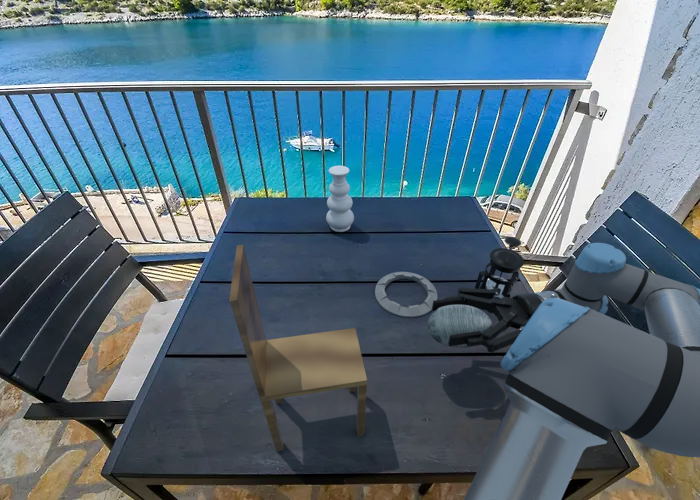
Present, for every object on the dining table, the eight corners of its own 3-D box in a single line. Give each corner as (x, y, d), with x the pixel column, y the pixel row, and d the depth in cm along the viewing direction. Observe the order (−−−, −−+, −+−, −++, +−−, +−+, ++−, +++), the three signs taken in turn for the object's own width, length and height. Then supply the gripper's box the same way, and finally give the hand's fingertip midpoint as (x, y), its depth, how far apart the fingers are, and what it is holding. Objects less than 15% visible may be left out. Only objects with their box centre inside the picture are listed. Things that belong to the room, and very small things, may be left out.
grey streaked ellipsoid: (422, 350, 78) (445, 342, 69) (418, 308, 82) (440, 296, 73) (475, 352, 82) (503, 345, 73) (469, 312, 86) (495, 301, 77)
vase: (356, 221, 142) (357, 164, 126) (350, 237, 134) (350, 177, 118) (330, 218, 144) (328, 161, 128) (323, 233, 136) (319, 174, 120)
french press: (501, 287, 112) (523, 229, 98) (515, 309, 104) (541, 249, 90) (466, 290, 111) (483, 231, 97) (478, 313, 103) (498, 253, 89)
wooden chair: (364, 435, 76) (372, 283, 48) (276, 451, 74) (228, 300, 45) (354, 385, 85) (356, 233, 57) (276, 397, 83) (236, 245, 54)
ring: (401, 327, 99) (402, 323, 98) (363, 287, 112) (363, 282, 111) (450, 300, 107) (451, 296, 106) (409, 265, 120) (410, 261, 119)
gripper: (515, 265, 85) (426, 276, 82) (574, 337, 68) (466, 354, 65) (506, 287, 89) (422, 298, 86) (560, 360, 72) (458, 377, 69)
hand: (441, 322), depth 76 cm, fingers closed on grey streaked ellipsoid, 9 cm apart
